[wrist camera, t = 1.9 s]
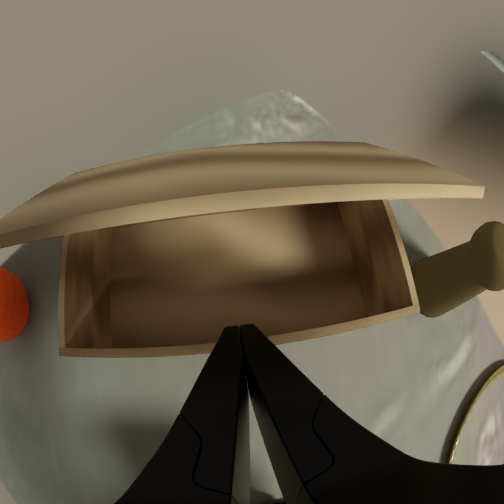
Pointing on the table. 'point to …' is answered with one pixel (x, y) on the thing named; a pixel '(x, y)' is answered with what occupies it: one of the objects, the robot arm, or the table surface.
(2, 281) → the clementine
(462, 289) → the cork
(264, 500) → the table surface
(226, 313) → the kraft carton
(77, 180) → the carton flap
